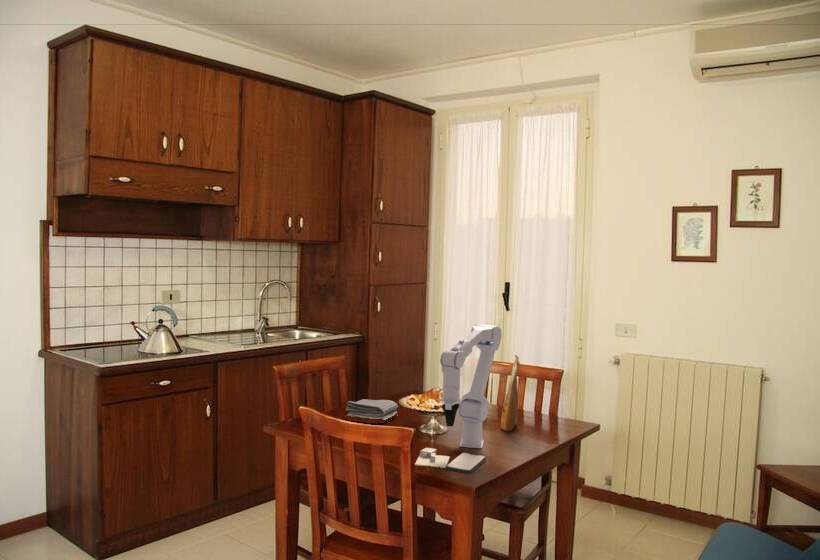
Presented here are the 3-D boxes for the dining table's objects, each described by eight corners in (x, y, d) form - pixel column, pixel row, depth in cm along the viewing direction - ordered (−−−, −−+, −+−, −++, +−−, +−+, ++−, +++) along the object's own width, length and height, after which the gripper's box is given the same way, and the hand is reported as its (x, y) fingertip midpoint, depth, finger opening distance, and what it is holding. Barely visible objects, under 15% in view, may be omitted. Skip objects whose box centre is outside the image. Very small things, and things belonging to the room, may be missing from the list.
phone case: (470, 476, 199) (487, 460, 213) (470, 471, 199) (487, 456, 213) (444, 471, 202) (462, 456, 217) (444, 466, 202) (462, 451, 217)
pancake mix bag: (520, 421, 265) (523, 354, 264) (516, 433, 246) (519, 361, 245) (504, 419, 267) (507, 353, 265) (498, 431, 248) (501, 360, 247)
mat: (420, 454, 216) (420, 453, 216) (449, 457, 214) (449, 456, 214) (414, 465, 205) (414, 463, 205) (445, 468, 203) (445, 466, 203)
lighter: (425, 452, 218) (414, 458, 210) (425, 447, 217) (415, 453, 210) (444, 455, 214) (434, 462, 207) (444, 450, 214) (434, 457, 207)
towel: (384, 426, 251) (384, 406, 251) (342, 420, 258) (343, 401, 257) (398, 417, 265) (399, 399, 265) (358, 412, 272) (359, 394, 271)
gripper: (442, 381, 223) (441, 419, 224) (436, 389, 209) (435, 430, 209) (462, 382, 222) (461, 420, 222) (457, 391, 208) (456, 432, 208)
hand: (450, 425), depth 216 cm, fingers closed
